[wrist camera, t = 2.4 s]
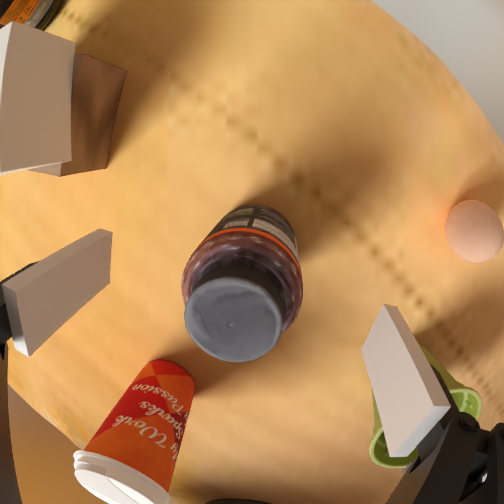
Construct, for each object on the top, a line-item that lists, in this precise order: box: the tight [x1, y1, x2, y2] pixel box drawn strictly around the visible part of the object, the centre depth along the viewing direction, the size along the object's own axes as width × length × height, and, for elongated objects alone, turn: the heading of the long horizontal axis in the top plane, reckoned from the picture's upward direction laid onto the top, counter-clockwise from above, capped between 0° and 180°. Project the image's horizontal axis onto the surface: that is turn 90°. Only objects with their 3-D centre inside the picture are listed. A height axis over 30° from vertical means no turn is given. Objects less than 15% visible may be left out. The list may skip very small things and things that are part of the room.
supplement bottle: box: [182, 205, 303, 362], centre depth 17 cm, size 6×6×11 cm
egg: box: [445, 200, 504, 263], centre depth 18 cm, size 4×4×6 cm
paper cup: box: [73, 360, 195, 504], centre depth 21 cm, size 8×8×14 cm
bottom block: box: [28, 54, 127, 177], centre depth 18 cm, size 8×8×6 cm
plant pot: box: [369, 344, 482, 468], centre depth 21 cm, size 9×9×9 cm
